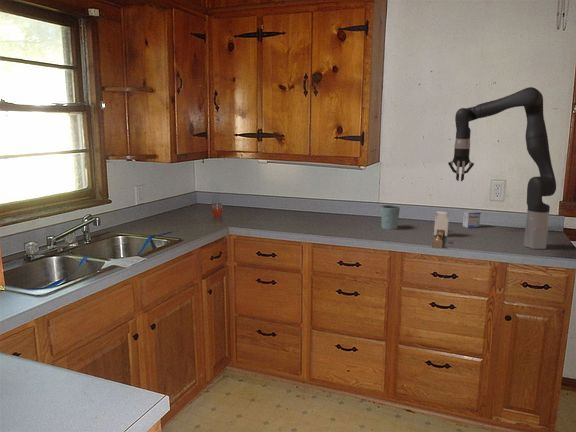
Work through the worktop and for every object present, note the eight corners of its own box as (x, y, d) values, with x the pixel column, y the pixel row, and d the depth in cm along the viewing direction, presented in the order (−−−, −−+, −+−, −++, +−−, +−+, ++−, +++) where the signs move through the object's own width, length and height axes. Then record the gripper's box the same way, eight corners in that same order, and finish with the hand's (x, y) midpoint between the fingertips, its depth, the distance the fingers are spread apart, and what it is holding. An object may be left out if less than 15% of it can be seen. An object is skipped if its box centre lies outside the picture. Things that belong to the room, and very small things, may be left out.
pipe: (437, 230, 271) (438, 224, 270) (454, 231, 268) (455, 225, 267) (432, 247, 236) (432, 240, 235) (451, 249, 233) (451, 242, 232)
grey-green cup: (385, 230, 269) (386, 208, 267) (376, 226, 279) (377, 205, 276) (402, 229, 272) (403, 207, 269) (393, 225, 281) (394, 204, 279)
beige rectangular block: (434, 233, 262) (436, 211, 260) (447, 234, 260) (449, 212, 258) (433, 235, 258) (435, 212, 255) (446, 236, 255) (448, 213, 253)
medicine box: (467, 228, 275) (468, 212, 274) (462, 226, 280) (463, 211, 278) (479, 227, 278) (480, 212, 276) (474, 225, 282) (475, 210, 280)
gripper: (476, 147, 261) (473, 180, 264) (448, 146, 265) (446, 179, 269) (476, 148, 254) (473, 182, 257) (448, 147, 259) (445, 181, 262)
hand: (459, 180), depth 263 cm, fingers closed
